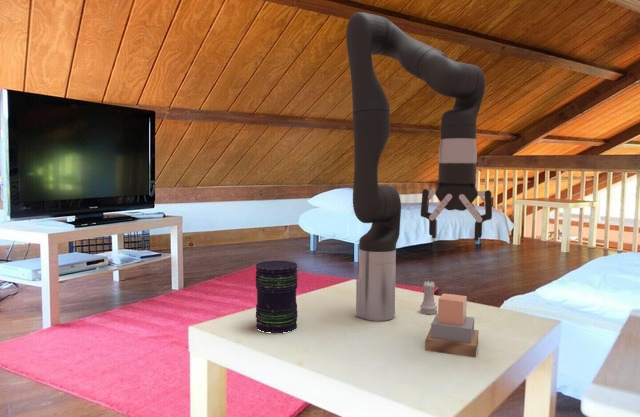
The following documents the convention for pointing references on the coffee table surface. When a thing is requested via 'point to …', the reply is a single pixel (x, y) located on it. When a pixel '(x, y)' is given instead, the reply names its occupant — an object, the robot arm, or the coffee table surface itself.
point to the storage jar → (276, 296)
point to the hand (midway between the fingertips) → (455, 239)
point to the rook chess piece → (428, 299)
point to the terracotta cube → (452, 309)
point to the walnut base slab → (452, 345)
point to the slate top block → (453, 330)
